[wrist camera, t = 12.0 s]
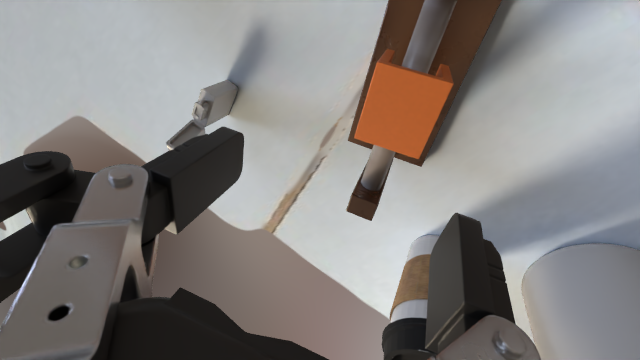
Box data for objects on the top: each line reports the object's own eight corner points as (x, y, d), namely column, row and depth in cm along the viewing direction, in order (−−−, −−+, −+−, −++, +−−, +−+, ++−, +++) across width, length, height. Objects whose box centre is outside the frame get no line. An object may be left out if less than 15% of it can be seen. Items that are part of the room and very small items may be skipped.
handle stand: (350, 136, 32) (308, 196, 23) (403, -43, 23) (372, -74, 13) (422, 162, 31) (411, 237, 21) (508, -19, 22) (559, -33, 12)
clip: (366, 113, 24) (353, 138, 20) (387, 48, 21) (377, 61, 17) (420, 130, 23) (418, 159, 19) (449, 65, 20) (454, 83, 16)
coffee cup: (488, 246, 33) (511, 386, 21) (450, 288, 38) (452, 422, 26) (416, 215, 34) (400, 331, 22) (388, 260, 39) (363, 375, 27)
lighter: (226, 78, 34) (175, 97, 28) (238, 87, 34) (190, 108, 28) (210, 125, 38) (163, 151, 32) (221, 133, 38) (176, 160, 32)
